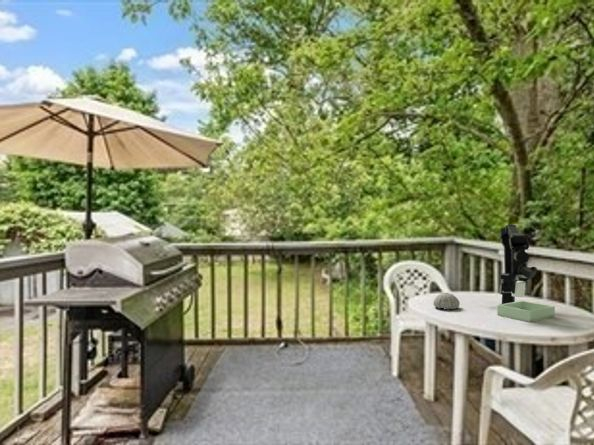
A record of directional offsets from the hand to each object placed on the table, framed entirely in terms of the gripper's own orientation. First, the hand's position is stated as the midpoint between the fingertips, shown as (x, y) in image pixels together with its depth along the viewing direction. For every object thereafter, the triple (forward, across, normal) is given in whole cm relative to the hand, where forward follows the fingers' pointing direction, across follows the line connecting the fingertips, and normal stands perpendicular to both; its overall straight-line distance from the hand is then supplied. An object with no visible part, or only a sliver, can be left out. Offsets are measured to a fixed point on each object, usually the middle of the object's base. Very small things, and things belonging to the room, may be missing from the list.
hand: (517, 292), depth 279 cm
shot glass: (+2, 0, 0) cm, 2 cm away
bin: (+11, +2, -3) cm, 12 cm away
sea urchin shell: (+12, -15, +33) cm, 38 cm away
